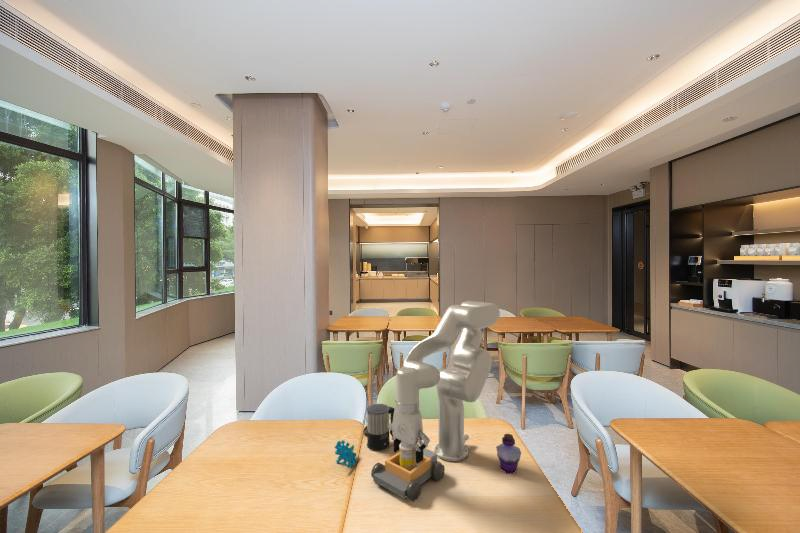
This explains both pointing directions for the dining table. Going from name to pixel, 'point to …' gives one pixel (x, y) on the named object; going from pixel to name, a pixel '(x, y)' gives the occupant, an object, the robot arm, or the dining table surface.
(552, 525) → the dining table surface
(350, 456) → the gear
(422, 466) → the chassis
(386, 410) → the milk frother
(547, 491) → the dining table surface
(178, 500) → the dining table surface
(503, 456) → the potion bottle
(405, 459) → the supplement bottle
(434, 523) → the dining table surface
